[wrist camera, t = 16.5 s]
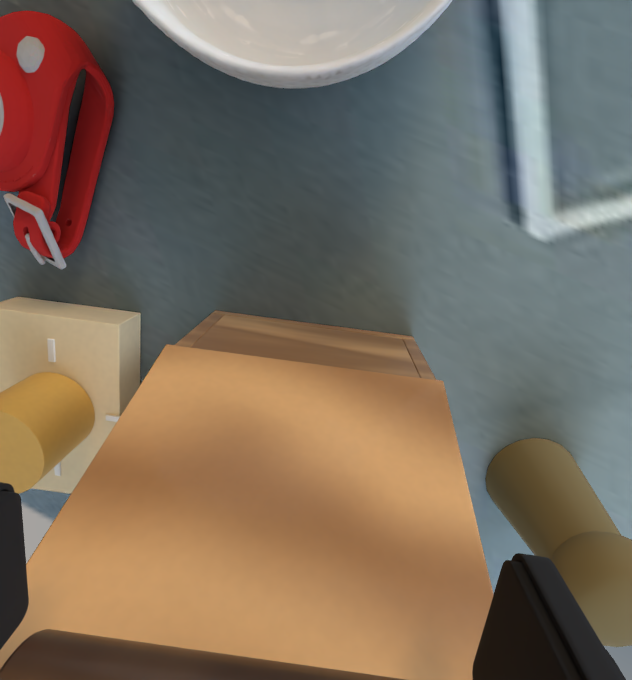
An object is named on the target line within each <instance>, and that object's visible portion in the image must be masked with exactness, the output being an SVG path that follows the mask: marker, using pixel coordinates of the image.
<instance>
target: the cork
mask: <svg viewBox="0 0 632 680" xmlns="http://www.w3.org/2000/svg"><path fill="white" fill-rule="evenodd" d="M486 486H487V491H488V493H489V495H490V497H491V498H492V500H493V502H494V503H495V504H496V505H497V507H498V508H499V509H500V511H501V512H502V513H503V515H504V516H505V517H506V518H507V520H508V521H509V522H510V524H511V525H512V526H513V527H514V529H515V530H516V531H517V533H518V534H519V535H520V537H521V538H522V539H523V540H524V542H525V543H526V544H527V546H528V547H529V548H530V549H531V551H532V552H533V553H534V555H535V556H541V557H547V558H549V559H551V561H552V562H553V563H554V565H555V566H556V568H557V570H558V571H559V573H560V575H561V576H562V578H563V580H564V581H565V583H566V585H567V586H568V588H569V590H570V591H571V593H572V595H573V596H574V598H575V600H576V601H577V603H578V605H579V606H580V608H581V610H582V611H583V613H584V615H585V616H586V618H587V620H588V621H589V623H590V625H591V626H592V628H593V630H594V631H595V633H596V635H597V636H598V638H599V640H600V641H601V643H602V645H604V646H613V647H623V646H631V645H632V540H631V539H629V538H626V537H624V536H621V534H620V532H619V531H618V529H617V528H616V526H615V524H614V523H613V521H612V520H611V518H610V516H609V515H608V513H607V512H606V510H605V508H604V507H603V505H602V503H601V502H600V500H599V499H598V497H597V495H596V494H595V492H594V491H593V489H592V487H591V486H590V484H589V483H588V481H587V479H586V478H585V476H584V475H583V473H582V471H581V470H580V468H579V467H578V465H577V463H576V462H575V460H574V459H573V457H572V455H571V454H570V453H569V452H568V451H567V450H566V449H565V448H564V447H563V446H562V445H560V444H558V443H555V442H553V441H551V440H548V439H539V438H531V439H525V440H519V441H517V442H515V443H513V444H510V445H508V446H506V447H505V448H504V449H503V450H501V451H500V452H499V453H498V454H497V455H495V457H494V458H493V460H492V462H491V463H490V465H489V466H488V470H487V474H486Z"/></svg>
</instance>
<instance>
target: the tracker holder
mask: <svg viewBox="0 0 632 680" xmlns="http://www.w3.org/2000/svg"><path fill="white" fill-rule="evenodd" d="M82 69H85V70H86V79H85V88H84V93H83V98H82V103H81V107H80V112H79V117H78V122H77V127H76V131H75V136H74V141H73V146H72V151H71V155H70V160H69V165H68V170H67V174H66V179H65V183H64V188H63V193H62V200H61V206H60V209H59V213H58V216H57V219H56V222H53V221H50V219H51V217H52V215H53V212H54V210H55V208H56V204H57V197H58V191H59V184H60V177H61V169H62V162H63V154H64V146H65V139H66V131H67V123H68V116H69V108H70V104H71V100H72V96H73V93H74V89H75V85H76V81H77V78H78V76H79V73H80V71H81V70H82ZM113 114H114V98H113V92H112V89H111V86H110V84H109V82H108V80H107V78H106V76H105V75H104V73H103V71H102V70H101V68H100V66H99V65H98V63H97V61H96V60H95V58H94V56H93V55H92V53H91V51H90V50H89V48H88V47H87V45H86V44H85V42H84V41H83V40H82V38H81V37H80V36H79V35H78V34H77V33H76V32H75V31H74V30H73V29H72V28H71V27H69V26H68V25H66V24H65V23H63V22H62V21H61V20H59V19H57V18H55V17H53V16H51V15H49V14H45V13H40V12H35V11H19V12H13V13H10V14H7V15H4V16H2V17H0V190H1V191H9V192H17V191H19V195H18V196H17V197H16V196H14V195H12V194H10V193H7V194H5V195H4V199H5V201H6V203H7V205H8V207H9V209H10V211H11V213H12V215H13V217H14V221H13V226H14V232H15V236H16V238H17V239H18V241H19V242H20V243H21V245H22V246H23V247H24V248H26V249H29V250H30V251H31V252H32V254H33V256H34V257H35V258H36V260H37V261H38V262H39V263H40V264H42V265H43V264H45V260H46V261H47V262H49V263H51V264H53V265H54V266H56V267H58V268H60V269H63V268H65V267H66V263H65V261H64V259H63V258H66V257H67V256H69V255H70V254H72V253H73V252H74V251H75V249H76V247H77V246H78V244H79V243H80V241H81V239H82V236H83V232H84V229H85V225H86V222H87V218H88V215H89V210H90V206H91V202H92V198H93V194H94V190H95V186H96V182H97V178H98V174H99V170H100V166H101V162H102V159H103V155H104V151H105V147H106V143H107V139H108V135H109V131H110V127H111V123H112V119H113Z"/></svg>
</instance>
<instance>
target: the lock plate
mask: <svg viewBox="0 0 632 680" xmlns="http://www.w3.org/2000/svg"><path fill="white" fill-rule="evenodd" d="M140 331H141V313H138V312H130V311H123V310H115V309H107V308H100V307H92V306H85V305H77V304H70V303H62V302H54V301H47V300H39V299H32V298H24V297H15V298H12V299H8V300H5V301H2V302H0V393H1V392H2V391H4V390H6V389H8V388H10V387H11V386H13V385H15V384H17V383H19V382H20V381H22V380H24V379H26V378H28V377H29V376H31V375H34V374H37V373H42V372H51V373H57V374H61V375H64V376H66V377H68V378H70V379H72V380H73V381H75V382H76V383H78V384H79V385H80V386H81V387H82V388H83V389H84V390H85V392H86V393H87V394H88V396H89V398H90V399H91V401H92V404H93V407H94V413H95V421H94V425H93V428H92V430H91V432H90V434H89V435H88V436H87V437H86V438H85V439H84V440H83V441H82V442H81V443H80V444H79V445H78V446H77V447H76V448H74V449H73V450H72V451H71V452H70V453H69V454H68V455H67V456H66V457H65V458H64V459H63V460H61V461H60V462H59V463H58V464H57V465H56V466H55V467H54V468H53V469H52V470H51V471H49V472H48V473H47V474H46V475H45V476H44V477H43V478H42V479H41V480H40V481H39V482H38V483H36V484H35V485H34V486H33V487H32V489H39V490H47V491H54V492H61V493H68V494H71V493H72V492H73V490H74V488H75V487H76V485H77V484H78V482H79V481H80V479H81V477H82V476H83V474H84V473H85V471H86V470H87V468H88V466H89V465H90V463H91V462H92V460H93V459H94V457H95V455H96V454H97V452H98V451H99V449H100V448H101V446H102V444H103V443H104V441H105V440H106V438H107V437H108V435H109V433H110V432H111V430H112V429H113V427H114V426H115V424H116V422H117V421H118V419H119V418H120V416H121V415H122V413H123V411H124V410H125V408H126V407H127V405H128V404H129V402H130V400H131V399H132V397H133V396H134V394H135V393H136V391H137V389H138V388H139V386H140Z"/></svg>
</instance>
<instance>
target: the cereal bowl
mask: <svg viewBox="0 0 632 680" xmlns="http://www.w3.org/2000/svg"><path fill="white" fill-rule="evenodd" d="M132 1H133V3H134V4H135V5H136V6H137V7H139V8H140V9H141V10H142V11H143V12H144V14H145V15H146V16H147V17H148V18H149V19H150V20H151V22H152V23H153V24H154V25H156V26H157V27H158V28H159V29H160V30H162V31H163V32H164V34H165V35H166V36H168V37H169V38H171V39H172V40H173V41H174V42H176V43H177V44H178V45H179V46H180V47H182V48H184V49H185V50H186V51H188V52H189V53H190V54H191V55H192V56H194V57H197V58H198V59H199V60H201V61H203V62H205V63H206V64H207V65H210V66H211V67H213V68H214V69H218V70H219V71H221V72H224V73H226V74H227V75H230V76H234V77H236V78H239V79H240V80H242V81H248V82H250V83H254V84H260V85H263V86H271V87H276V88H286V89H292V88H301V89H302V88H310V87H321V86H327V85H330V84H333V83H339V82H341V81H344V80H349V79H351V78H353V77H357V76H358V75H360V74H363V73H366V72H368V71H370V70H372V69H374V68H376V67H378V66H379V65H381V64H384V63H386V62H387V61H388V60H389V59H391V58H393V57H394V56H396V55H397V54H399V53H400V52H401V51H403V50H404V49H405V48H406V47H408V46H409V45H410V44H411V43H412V42H414V41H415V40H417V39H418V37H419V36H420V35H421V34H422V33H423V32H424V31H426V30H427V29H428V28H429V27H430V26H431V25H432V24H433V23H434V22H435V21H436V20H437V19H438V17H439V16H440V15H441V14H442V13H443V12H444V10H445V9H446V8H447V7H448V6H449V4H450V3H451V2H452V1H453V0H132Z"/></svg>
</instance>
